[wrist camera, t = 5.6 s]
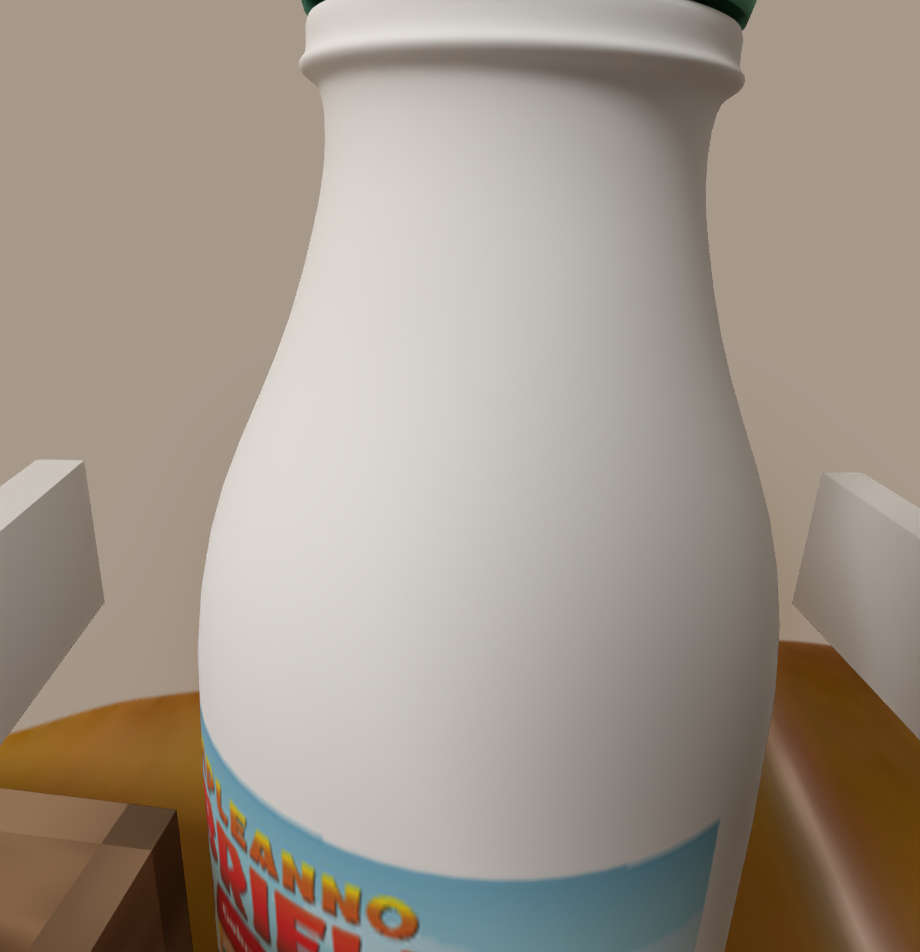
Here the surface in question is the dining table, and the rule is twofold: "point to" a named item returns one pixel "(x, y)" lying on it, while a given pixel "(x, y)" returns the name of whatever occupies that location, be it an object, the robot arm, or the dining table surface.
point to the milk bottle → (495, 507)
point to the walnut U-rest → (90, 876)
